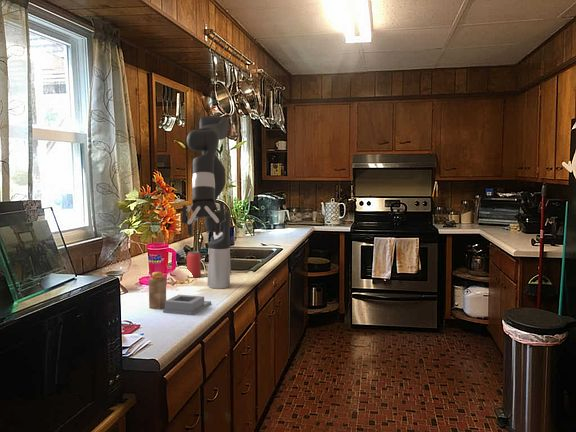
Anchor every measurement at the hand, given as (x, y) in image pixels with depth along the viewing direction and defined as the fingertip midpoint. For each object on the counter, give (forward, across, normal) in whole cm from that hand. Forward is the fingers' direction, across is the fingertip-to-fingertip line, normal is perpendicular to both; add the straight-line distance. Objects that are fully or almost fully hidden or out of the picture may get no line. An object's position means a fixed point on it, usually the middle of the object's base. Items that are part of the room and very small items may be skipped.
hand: (204, 235), depth 169 cm
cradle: (+23, +13, -25) cm, 36 cm away
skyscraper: (+7, +12, -86) cm, 87 cm away
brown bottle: (+22, +24, -25) cm, 41 cm away
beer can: (+8, +24, -79) cm, 83 cm away
